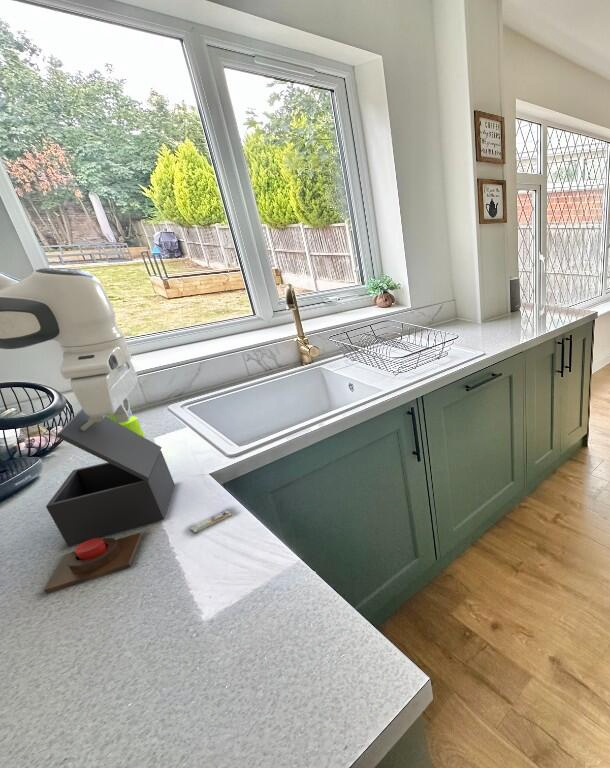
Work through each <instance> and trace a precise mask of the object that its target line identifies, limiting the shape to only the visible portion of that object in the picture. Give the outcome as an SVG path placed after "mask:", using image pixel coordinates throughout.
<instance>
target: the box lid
mask: <svg viewBox="0 0 610 768" xmlns="http://www.w3.org/2000/svg"><path fill="white" fill-rule="evenodd" d="M55 437H56V438H58V439H61V440H62V441H64V442H65V443H68V444H70V445H72V446H74V447H76V448H78V449H79V450H82V451H84V452H86V453H88V454H90V455H92V456H95V457H97V458H98V459H100V460H102V461H105V463H107V462H109V463H111V464H113V465H115V466H117V467H119V468H121V469H123V470H125V471H127V472H129V473H131V474H133V475H135V476H137V477H139V478H141V479H143V480H147V479H148V478H149V475H150V473H151V471H152V468H153V466H154V464H155V462H156V459H157V457H158V455H159V452H160V451H162V446H161V445H158V444H157V443H155V442H153V441H151V440H149V439H148V438H146V437H145V438H144V437H142V436H140V435H139V434H137V433H135V432H133V431H131V430H129V429H128V428H126V427H124V426H122V425H120V424H119V423H117V422H115V421H113V420H111V419H110V418H109V417H108V416H107V415H106V416H100V417H93V418H92V417H90V416H88V415H87V414H86V413H85V412H84V410H83V409H82V408H81V409H79V411H78V412H77V413H76V414H75V415H74V416H73V417H72V418H71V419H70V420H69V421H68V422H67V423H66V424H65V425H64V426H63V427H62V428H61V430H60V431H58V433H57V434H56V435H55Z"/></svg>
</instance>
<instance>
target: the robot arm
mask: <svg viewBox="0 0 610 768" xmlns="http://www.w3.org/2000/svg"><path fill="white" fill-rule="evenodd" d="M48 341H55V342H57V343H58V345H59V346H60V349H61V351H62V362H61V365H60V368H59V371H60V374H61V376H62V378H63V379H65V380H69V383H70V387H71V390H72V392H73V394H74V396H75V399H76V400H77V402H78V404H79V405H80V407H81V409H83V410H84V412H85V413H86V414H87V415H88V416H90V417H92V418H93V417H100V416H106V417H107V416H108V415H111V414H114V415H115V417H116V420H117V421H118V422H125V421H128V420H129V418H130V417H131V416H133V413H132V412H133V411H132V410H131V405H130V398H129V394H130V393H131V392H132V391H133V389H134V388H135V387H136V385H137V384H138V383H139V377H138V374H137V371H136V369H135V367H134V364H133V363H132V357H133V356H132V355H131V351H130V349H129V347H128V344H127V341H126V339H125V335H124V333H123V332H122V331H121V330H120V328H119V327H118V325H117V322H116V313H115V310H114V307H113V305H112V303H111V301H110V298H109V296H108V294H107V291H106V289H104V287H103V285H102V283H101V282H100V280H99V279H98V278H97V277H96V275H94V274H92V273H91V272H88V271H85V270H82V269H75V268H67V267H45V268H38V269H35V270H34V271H33V272H32V273H31V274H30V275H29V276H27V277H26V278H24V279H20V278H16V277H14V276H12V275H9V274H7V273H4V272H2V271H0V349H1V350H16V349H17V350H18V349H25V348H30V347H33V346H35V345H38V344H42V343H45V342H48Z"/></svg>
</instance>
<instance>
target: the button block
mask: <svg viewBox="0 0 610 768" xmlns="http://www.w3.org/2000/svg"><path fill="white" fill-rule="evenodd" d="M102 539H103V541H104V543H105V545H106V550H104V551H103V552H102V553H101V554H99V555H97V556H95V557H93V558H90V559H86V560H80V559H79V558H78V556H77V554H76V552H75V551H73V552H69V553H65V554H64V555H63V557H62V558H61V560H60V562H59V563H58V565H57V567H56V569H55V570H54V571H53V574H52V575H51V577H50V578H49V580H48V582H47V584H46V585H45V587H44V589H43V591H44V593H45V595H47V594H51V593H54V592H57V591H59V590H60V591H61V590H63V589H66V588H68V587H72V586H75V585H79V584H81V583H84V582H88V581H92V580H94V579H97V578H101V577H104V576H107V575H110V574H113V573H116V572H119V571H123V570H126V569H130V568H131V567H132V566H133V563H134V560H135V558H136V555H137V552H138V549H139V548H140V547H139V546H140V544H141V541H142V539H143V533H142V532H138V533H134V534H131V535H128V536H124V537H120V538H118V539H115V538H114V537H102Z"/></svg>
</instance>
